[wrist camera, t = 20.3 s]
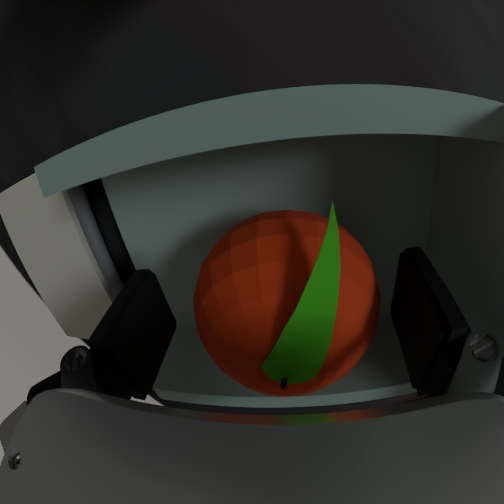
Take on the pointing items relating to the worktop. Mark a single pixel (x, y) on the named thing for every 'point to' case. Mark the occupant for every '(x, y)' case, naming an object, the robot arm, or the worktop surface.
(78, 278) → the panel
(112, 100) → the worktop surface
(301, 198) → the grey-green open bin
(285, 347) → the clementine
